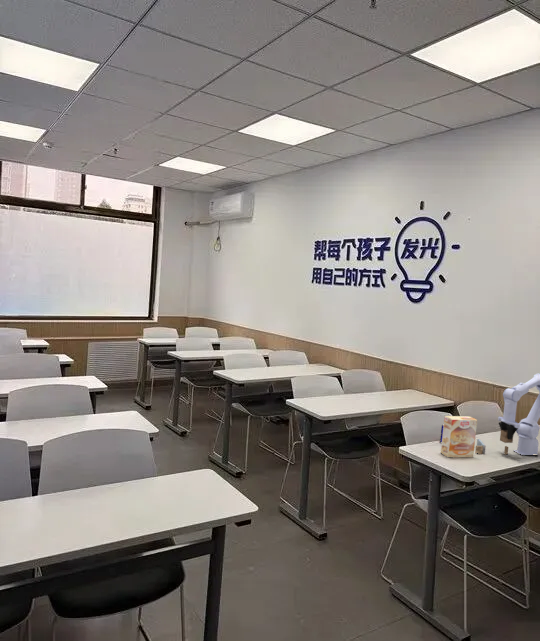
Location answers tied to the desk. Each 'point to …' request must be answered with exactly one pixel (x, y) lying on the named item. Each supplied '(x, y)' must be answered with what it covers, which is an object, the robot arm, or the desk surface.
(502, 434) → the walnut block
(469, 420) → the coffeecake box
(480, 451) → the oak door frame
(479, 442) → the slate-blue door
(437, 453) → the desk surface
